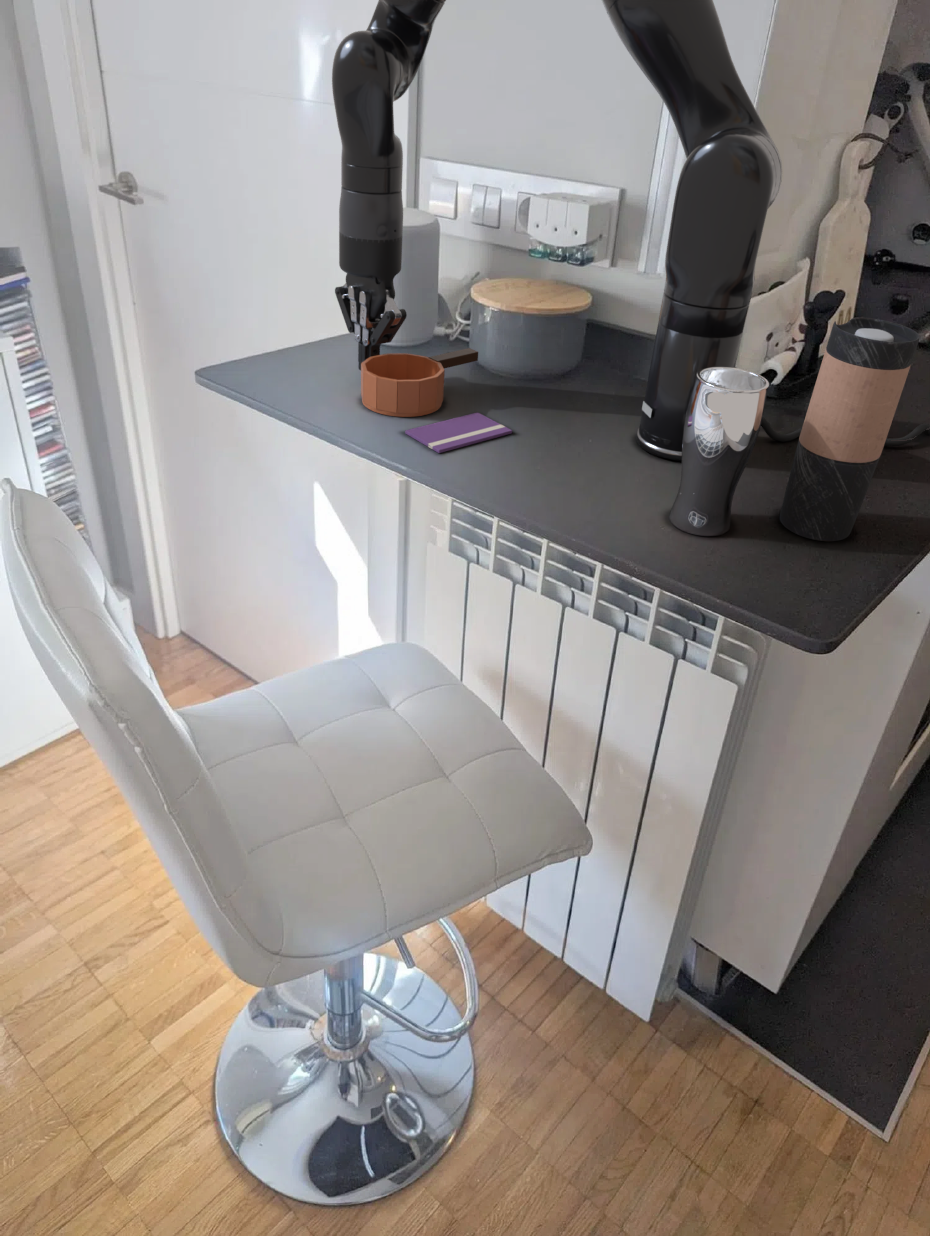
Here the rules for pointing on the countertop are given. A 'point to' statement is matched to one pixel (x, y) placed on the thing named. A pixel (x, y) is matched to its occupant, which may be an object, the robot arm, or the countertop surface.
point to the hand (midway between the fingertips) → (368, 371)
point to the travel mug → (846, 426)
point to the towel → (458, 432)
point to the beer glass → (717, 446)
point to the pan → (408, 381)
